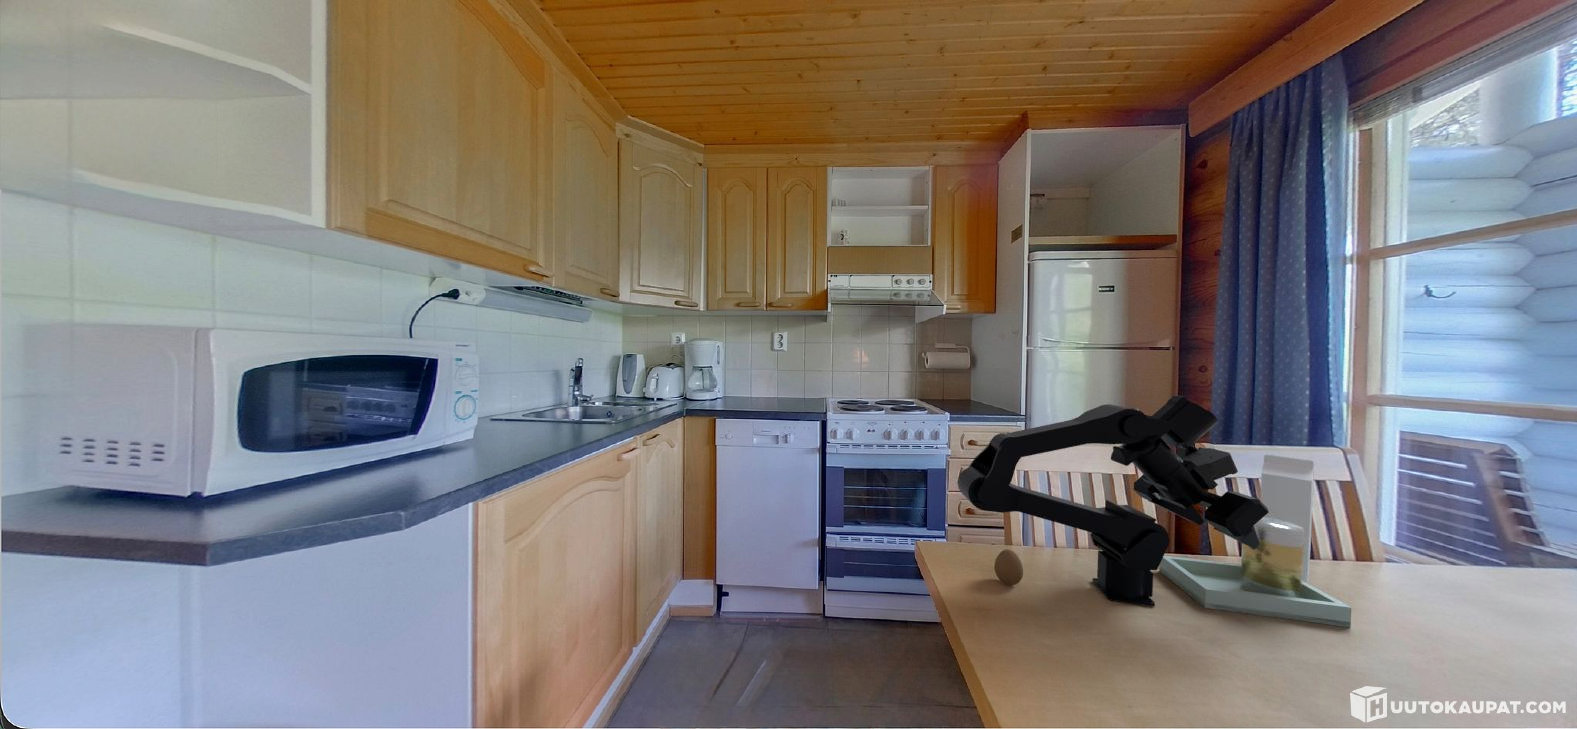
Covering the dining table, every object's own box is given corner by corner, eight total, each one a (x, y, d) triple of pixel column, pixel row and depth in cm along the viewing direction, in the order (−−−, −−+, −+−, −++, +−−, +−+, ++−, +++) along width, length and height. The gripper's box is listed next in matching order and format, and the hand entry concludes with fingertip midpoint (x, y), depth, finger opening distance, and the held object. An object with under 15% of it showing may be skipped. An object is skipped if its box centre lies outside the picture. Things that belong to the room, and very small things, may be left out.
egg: (994, 587, 72) (995, 552, 72) (993, 575, 77) (994, 542, 76) (1024, 593, 71) (1025, 557, 71) (1021, 580, 75) (1022, 547, 75)
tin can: (1284, 608, 66) (1287, 533, 66) (1230, 586, 73) (1233, 517, 73) (1311, 603, 68) (1315, 529, 68) (1256, 581, 75) (1259, 514, 74)
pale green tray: (1205, 607, 68) (1205, 589, 68) (1159, 570, 79) (1160, 555, 79) (1350, 627, 63) (1351, 607, 63) (1279, 585, 75) (1280, 568, 75)
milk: (1307, 587, 75) (1313, 463, 74) (1256, 572, 79) (1261, 456, 79) (1309, 576, 78) (1315, 458, 78) (1260, 563, 83) (1265, 452, 82)
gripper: (1258, 444, 61) (1335, 523, 60) (1152, 423, 79) (1211, 484, 79) (1198, 496, 61) (1274, 575, 61) (1107, 463, 80) (1165, 524, 80)
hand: (1227, 534), depth 70 cm, fingers open, 9 cm apart
